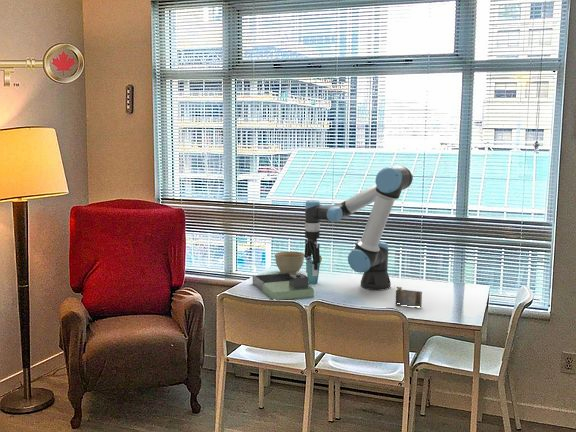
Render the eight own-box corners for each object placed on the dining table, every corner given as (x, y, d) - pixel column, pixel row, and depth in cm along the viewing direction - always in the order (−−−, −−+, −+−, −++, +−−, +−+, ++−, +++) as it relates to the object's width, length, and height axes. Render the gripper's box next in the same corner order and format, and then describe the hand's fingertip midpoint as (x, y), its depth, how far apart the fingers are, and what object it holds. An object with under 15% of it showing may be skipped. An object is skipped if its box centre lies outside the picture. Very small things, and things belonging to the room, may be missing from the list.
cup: (311, 287, 326) (312, 258, 323) (298, 284, 330) (299, 256, 327) (324, 281, 338) (326, 253, 335) (312, 278, 342) (313, 250, 339)
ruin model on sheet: (395, 307, 294) (395, 286, 292) (396, 305, 296) (397, 284, 295) (420, 310, 289) (420, 288, 288) (421, 308, 292) (422, 287, 291)
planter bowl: (307, 271, 360) (307, 252, 358) (299, 278, 344) (299, 258, 343) (280, 269, 365) (280, 250, 363) (270, 275, 349) (270, 255, 348)
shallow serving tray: (313, 296, 308) (313, 274, 306) (274, 300, 301) (274, 277, 299) (289, 280, 338) (289, 260, 337) (252, 283, 331) (252, 263, 330)
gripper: (298, 227, 338) (297, 270, 342) (313, 234, 319) (312, 279, 323) (311, 226, 341) (310, 269, 344) (327, 233, 322) (326, 278, 325)
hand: (311, 274), depth 333 cm, fingers closed on cup, 8 cm apart
